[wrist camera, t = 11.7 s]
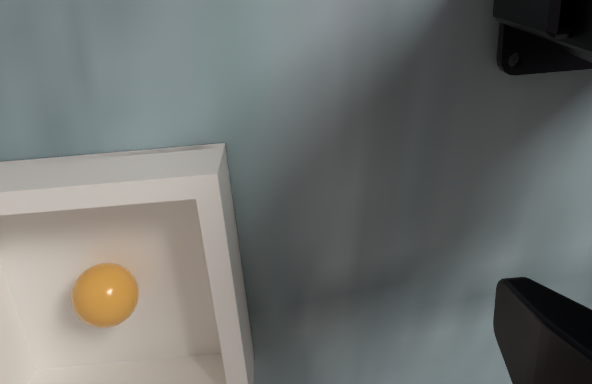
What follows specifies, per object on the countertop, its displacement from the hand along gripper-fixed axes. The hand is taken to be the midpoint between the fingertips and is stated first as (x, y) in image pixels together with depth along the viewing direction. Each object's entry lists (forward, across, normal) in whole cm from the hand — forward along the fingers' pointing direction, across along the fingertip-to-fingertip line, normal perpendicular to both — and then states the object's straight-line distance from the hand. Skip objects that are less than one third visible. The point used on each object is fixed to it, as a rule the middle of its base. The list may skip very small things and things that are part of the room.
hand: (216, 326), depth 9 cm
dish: (+12, +6, +6) cm, 15 cm away
